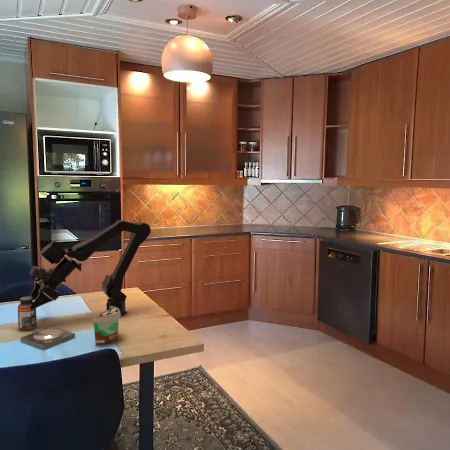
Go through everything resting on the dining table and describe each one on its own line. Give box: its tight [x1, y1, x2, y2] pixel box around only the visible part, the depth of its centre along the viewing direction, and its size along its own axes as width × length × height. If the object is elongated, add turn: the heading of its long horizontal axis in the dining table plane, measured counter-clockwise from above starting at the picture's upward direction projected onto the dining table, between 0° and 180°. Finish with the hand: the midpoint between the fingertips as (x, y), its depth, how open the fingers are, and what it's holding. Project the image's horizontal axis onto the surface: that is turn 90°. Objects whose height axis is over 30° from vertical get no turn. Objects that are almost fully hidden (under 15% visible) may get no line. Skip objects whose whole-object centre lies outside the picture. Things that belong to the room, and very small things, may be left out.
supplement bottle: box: [17, 296, 38, 332], centre depth 146 cm, size 6×6×11 cm
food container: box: [92, 306, 122, 346], centre depth 137 cm, size 12×6×10 cm, turn 168°
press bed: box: [20, 326, 76, 351], centre depth 137 cm, size 12×12×2 cm
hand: (29, 305), depth 146 cm, fingers open, 9 cm apart
